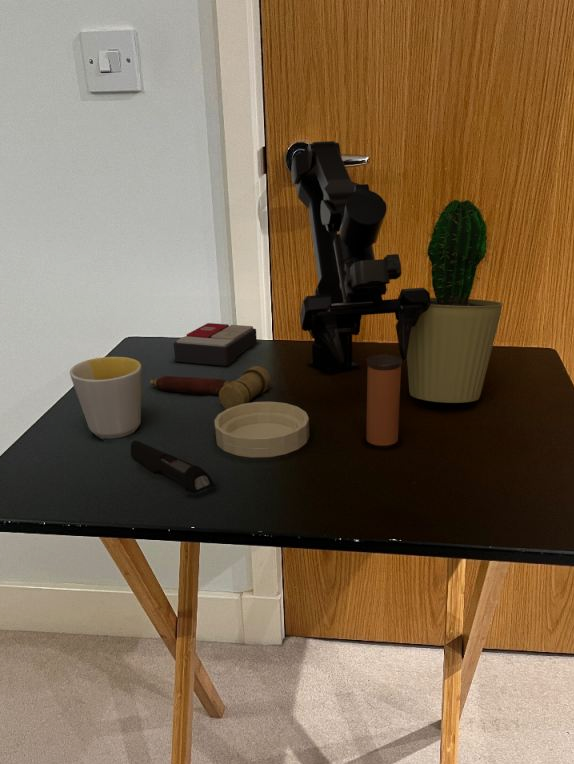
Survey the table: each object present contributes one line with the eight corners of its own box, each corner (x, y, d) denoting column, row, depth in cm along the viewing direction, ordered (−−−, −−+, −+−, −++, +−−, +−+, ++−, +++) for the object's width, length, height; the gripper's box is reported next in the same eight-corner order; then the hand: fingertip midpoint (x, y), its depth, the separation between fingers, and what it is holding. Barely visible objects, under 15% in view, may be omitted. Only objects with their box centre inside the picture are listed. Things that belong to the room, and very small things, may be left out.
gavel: (131, 379, 127) (163, 360, 135) (136, 405, 129) (168, 385, 137) (241, 386, 119) (269, 366, 126) (245, 413, 121) (272, 392, 129)
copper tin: (374, 433, 113) (376, 352, 107) (403, 439, 111) (407, 356, 105) (359, 445, 110) (360, 362, 104) (390, 451, 108) (393, 367, 101)
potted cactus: (380, 397, 120) (392, 192, 110) (419, 383, 133) (432, 198, 122) (473, 410, 113) (495, 192, 103) (505, 393, 125) (527, 197, 115)
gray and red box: (256, 324, 151) (226, 343, 139) (257, 346, 153) (227, 366, 141) (206, 321, 154) (172, 339, 142) (208, 342, 156) (174, 361, 144)
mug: (120, 452, 110) (109, 383, 105) (67, 439, 114) (54, 373, 109) (176, 418, 120) (169, 354, 115) (126, 408, 125) (116, 346, 119)
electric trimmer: (148, 455, 109) (145, 434, 108) (216, 488, 100) (213, 466, 98) (126, 463, 107) (122, 443, 106) (193, 498, 97) (190, 476, 96)
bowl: (280, 415, 120) (279, 395, 118) (326, 446, 110) (326, 424, 108) (201, 435, 114) (199, 413, 113) (241, 470, 104) (240, 447, 102)
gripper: (301, 238, 105) (317, 340, 101) (431, 230, 107) (451, 329, 103) (293, 282, 115) (308, 376, 112) (411, 274, 118) (430, 365, 114)
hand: (373, 361), depth 110 cm, fingers open, 9 cm apart
